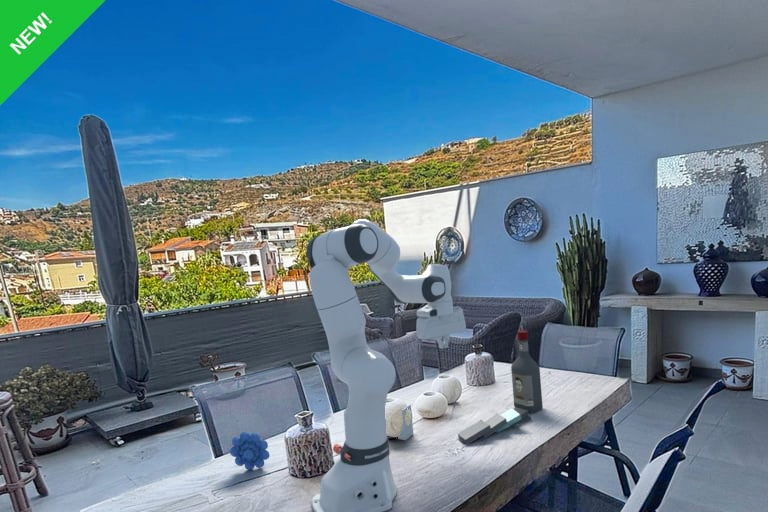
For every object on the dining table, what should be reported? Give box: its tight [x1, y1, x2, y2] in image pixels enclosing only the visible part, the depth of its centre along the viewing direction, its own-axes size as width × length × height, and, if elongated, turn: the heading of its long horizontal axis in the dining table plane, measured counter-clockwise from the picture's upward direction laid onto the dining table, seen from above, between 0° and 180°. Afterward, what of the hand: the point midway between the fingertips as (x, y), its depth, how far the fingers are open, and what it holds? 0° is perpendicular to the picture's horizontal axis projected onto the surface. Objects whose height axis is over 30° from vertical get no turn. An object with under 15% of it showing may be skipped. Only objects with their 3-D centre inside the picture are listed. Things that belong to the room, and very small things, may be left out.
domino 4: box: [513, 407, 530, 424], centre depth 148 cm, size 2×5×10 cm
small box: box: [398, 403, 414, 441], centre depth 143 cm, size 8×6×10 cm
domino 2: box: [481, 413, 507, 439], centre depth 140 cm, size 2×5×10 cm
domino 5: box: [509, 415, 532, 428], centre depth 148 cm, size 2×5×10 cm
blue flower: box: [229, 431, 270, 471], centre depth 126 cm, size 12×7×12 cm, turn 101°
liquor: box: [510, 330, 544, 414], centre depth 159 cm, size 9×9×30 cm
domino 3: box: [495, 407, 521, 433], centre depth 143 cm, size 2×5×10 cm
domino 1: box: [457, 419, 491, 446], centre depth 136 cm, size 2×5×10 cm
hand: (443, 347), depth 145 cm, fingers closed
